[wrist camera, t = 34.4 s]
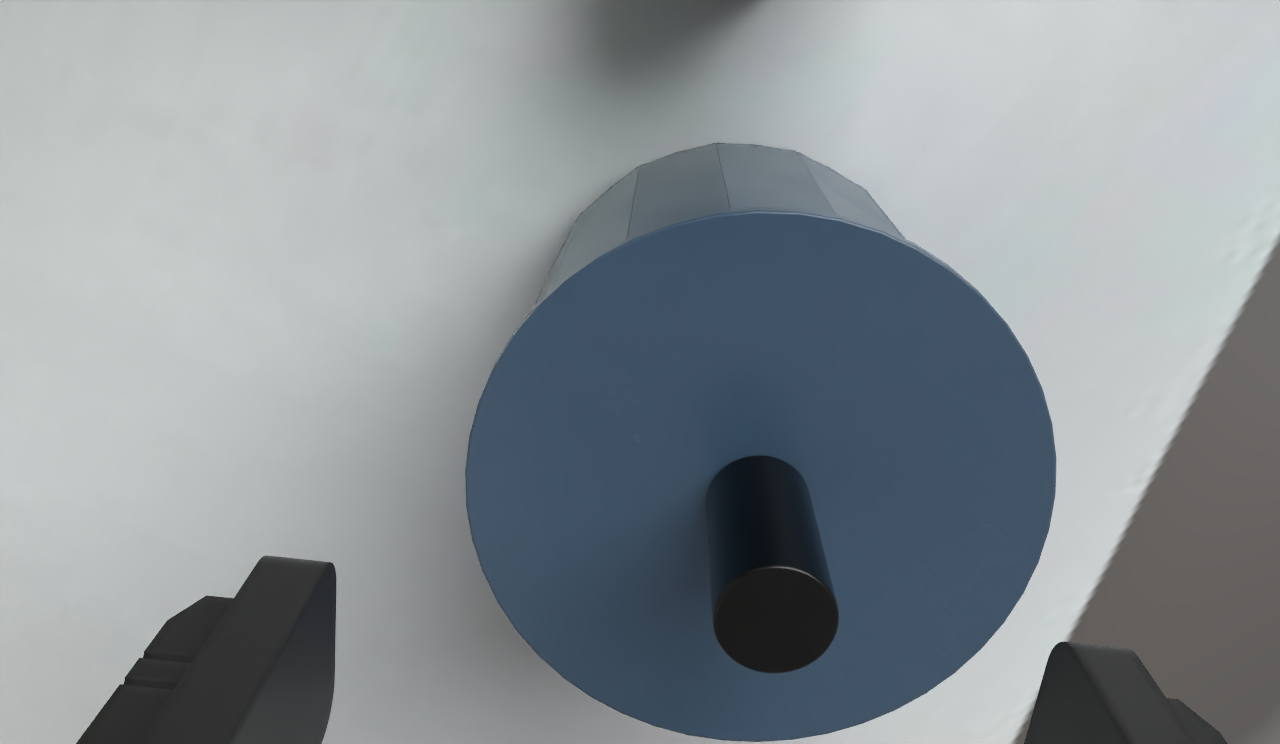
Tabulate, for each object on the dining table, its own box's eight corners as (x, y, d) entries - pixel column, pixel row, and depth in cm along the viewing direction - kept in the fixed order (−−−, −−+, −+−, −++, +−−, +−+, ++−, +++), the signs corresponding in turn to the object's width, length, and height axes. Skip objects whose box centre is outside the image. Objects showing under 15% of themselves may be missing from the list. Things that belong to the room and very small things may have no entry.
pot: (531, 482, 40) (475, 689, 29) (556, 124, 35) (501, 203, 24) (884, 518, 40) (966, 737, 29) (953, 164, 35) (1081, 261, 24)
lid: (462, 688, 29) (410, 866, 24) (485, 170, 25) (427, 237, 19) (979, 738, 29) (1052, 928, 24) (1102, 232, 25) (1232, 316, 19)
